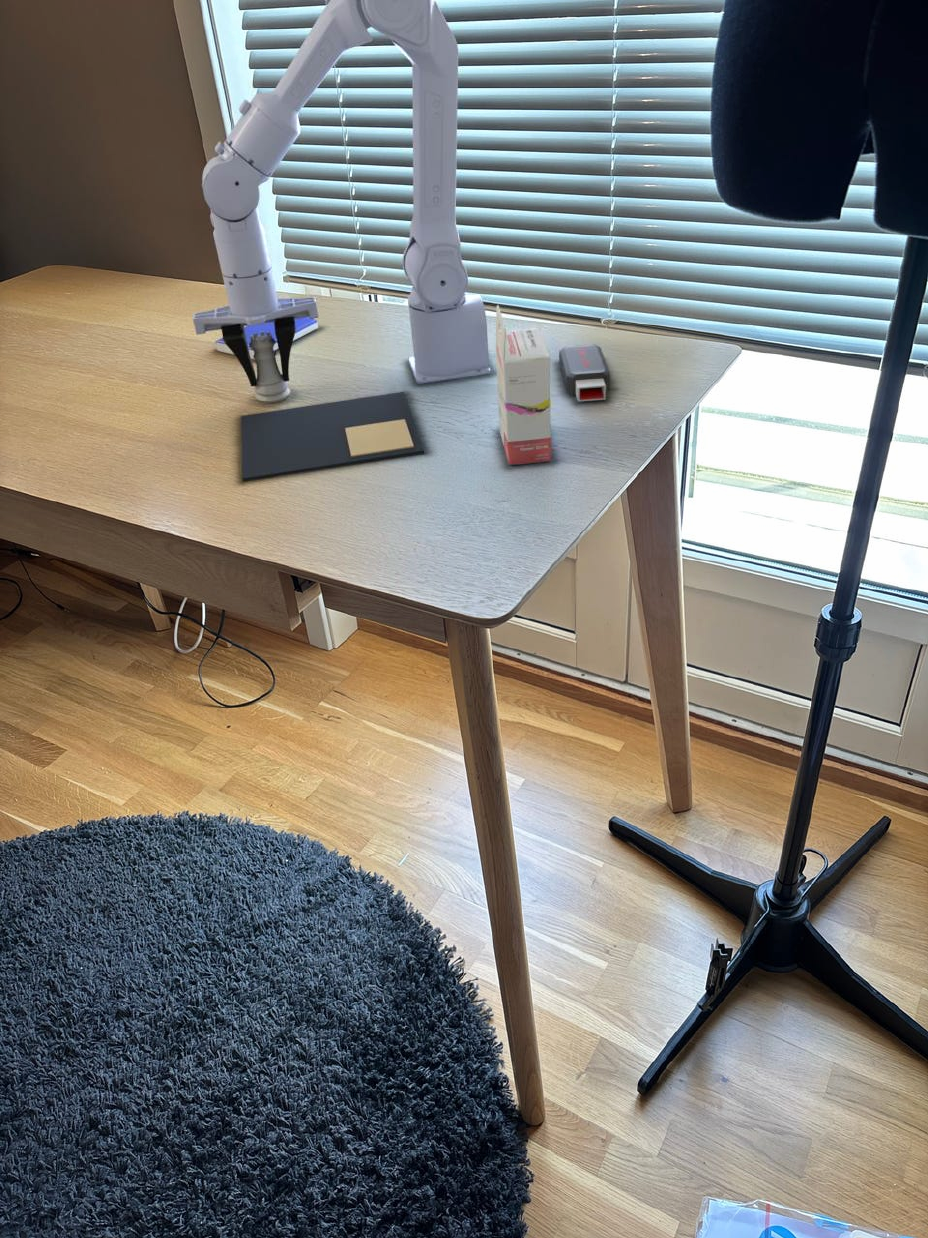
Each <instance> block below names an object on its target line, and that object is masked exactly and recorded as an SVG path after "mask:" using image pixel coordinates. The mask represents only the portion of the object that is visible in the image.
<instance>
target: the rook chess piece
mask: <svg viewBox="0 0 928 1238" xmlns="http://www.w3.org/2000/svg"><path fill="white" fill-rule="evenodd" d="M266 334H267V335H265V332H261V336H258V333H254V334H253V335H251V336H250V338H251V341H250V343H249V346H250V348H252V349H253V350H254V356H253V357H254V359H255V360H254V359H253V360H254V361H255V363H256V382H257V386H253V391H254V392H255V395H254V397H255V399H256V400H257V401H258V402H259V403H262V404H265V405H269V404H270V405H271V404H278V403H281V402H284V401H285V400H287V398H288V397H289V396H290V394H291V390H290V388H289V385H290V384H289V381H286V382H284V381H283V376H282V372H281V371H280V369H279V366H278V363H277V358H276V355H277V352H276V350H275V351H274V350H273V347H274V344H275V342H276V341H275V340H274V339H273V338H272V336H271V334H270V332H267V333H266ZM253 336H254V337H253Z"/></svg>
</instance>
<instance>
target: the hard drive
mask: <svg viewBox="0 0 928 1238" xmlns="http://www.w3.org/2000/svg"><path fill="white" fill-rule="evenodd" d="M294 320H295V327H296V331H295V336H294V339H293V342H294V341H296V340H298V339H300V338H302V337H303V336H305V335H307V334H309V333H312V332H313V331H315V330H317V329H319V325H318V320H317V319H316V318H314V319H310V318H309V317H307V318H299V319H294ZM244 329H245V334H246V339H247V344H248V349H249V353H250V357H251V360H254V361H256V360H255V359H254V357H253V356H254V350H253V349H252V348H250V346H249V343H250V341H251V338H250V336H251V335H253V334H254V333H258V336H261V332H265V335H267V334H266V333H267V332H270V334H271V336H272V338H273V339H274V340H275V341H276V342H275V344H274V347H273V350H274V351H275V352H276V351H277V350H279V348H278V343H277V339H276V334H275V327H274V322H270V323H263V324H258V325H249V326H244ZM253 337H254V336H253ZM214 345H215V349H216V350H217V351H218V352H221V353H226V354H230V355H234V353H233V352H232V351H231V350H230V348H229V347H228V346H227V345H226V343H225V342H224V340H223V337H221V338H218V339H217V340H215V341H214ZM234 356H235V355H234Z"/></svg>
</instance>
